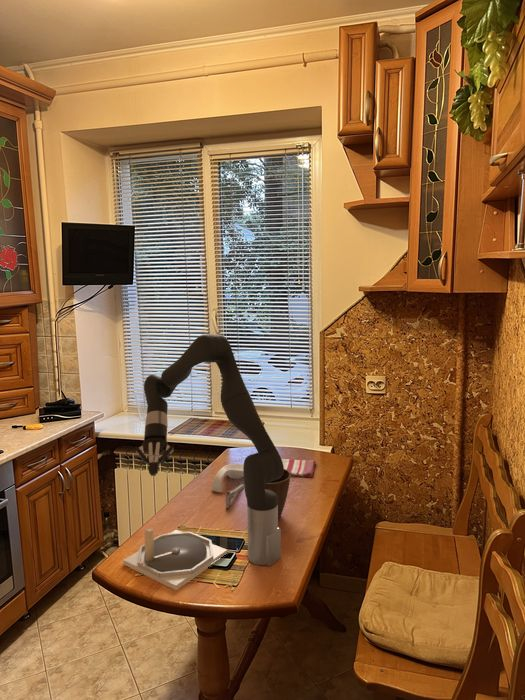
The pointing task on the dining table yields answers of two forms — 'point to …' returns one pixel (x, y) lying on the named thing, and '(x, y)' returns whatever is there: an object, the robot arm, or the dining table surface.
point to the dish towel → (299, 467)
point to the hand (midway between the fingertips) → (153, 474)
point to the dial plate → (180, 576)
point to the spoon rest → (231, 471)
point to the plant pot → (280, 490)
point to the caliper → (232, 495)
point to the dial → (173, 552)
